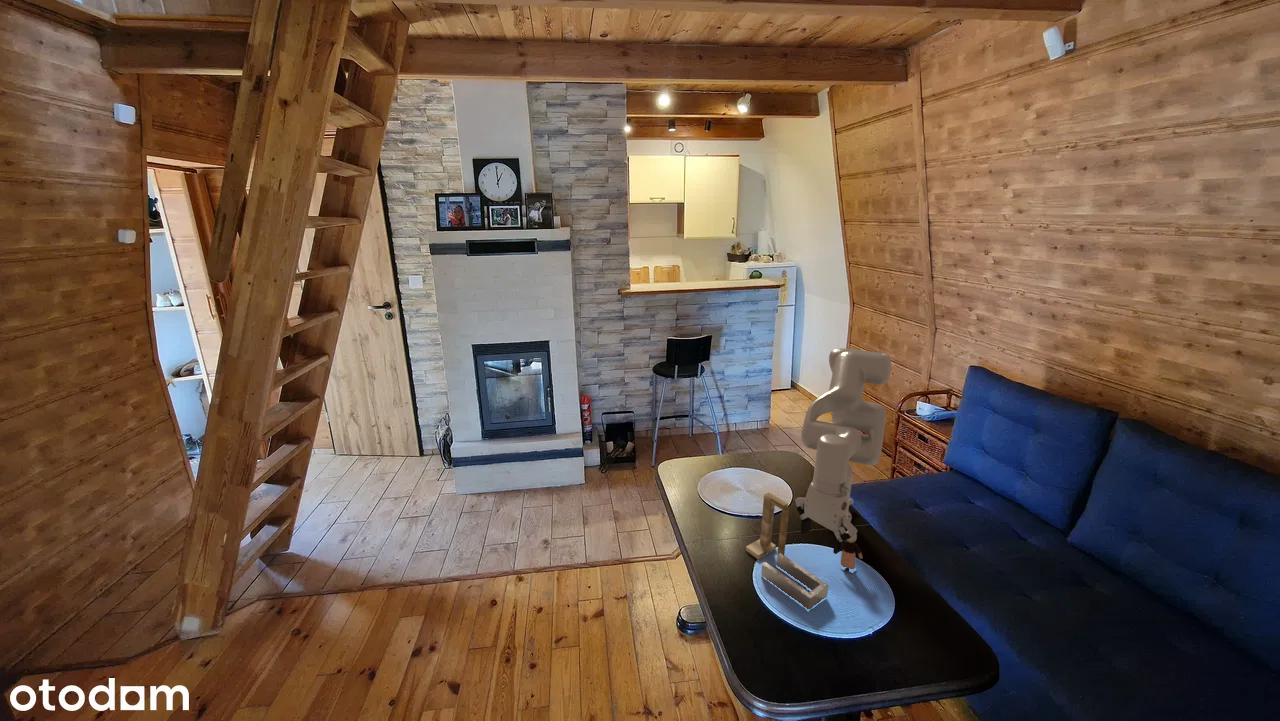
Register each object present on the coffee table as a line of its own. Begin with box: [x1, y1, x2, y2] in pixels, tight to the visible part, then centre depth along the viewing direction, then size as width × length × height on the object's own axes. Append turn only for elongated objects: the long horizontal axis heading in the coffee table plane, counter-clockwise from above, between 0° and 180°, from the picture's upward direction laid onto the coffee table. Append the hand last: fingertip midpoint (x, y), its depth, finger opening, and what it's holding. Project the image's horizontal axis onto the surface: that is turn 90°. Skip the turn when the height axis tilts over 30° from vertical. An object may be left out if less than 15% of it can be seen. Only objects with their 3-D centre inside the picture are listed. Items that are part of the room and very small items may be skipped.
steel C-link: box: [760, 553, 829, 609], centre depth 137 cm, size 16×8×4 cm, turn 36°
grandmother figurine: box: [840, 530, 863, 569], centre depth 143 cm, size 8×4×13 cm, turn 71°
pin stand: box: [745, 492, 790, 560], centre depth 148 cm, size 8×10×19 cm
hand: (821, 541), depth 128 cm, fingers open, 9 cm apart
